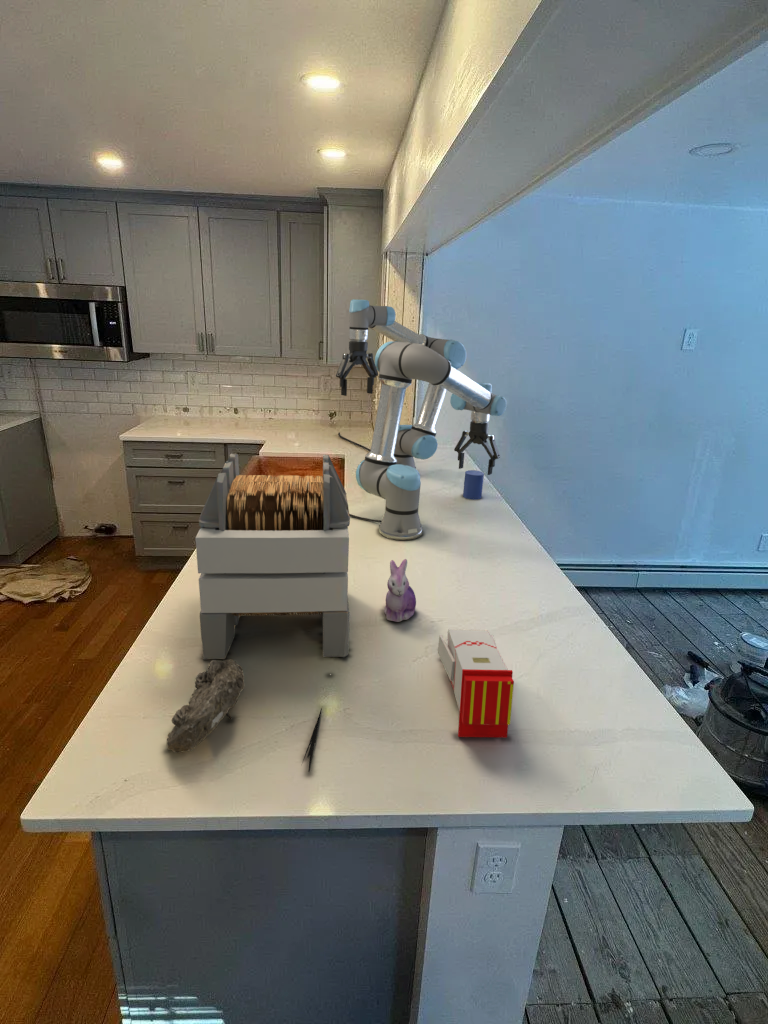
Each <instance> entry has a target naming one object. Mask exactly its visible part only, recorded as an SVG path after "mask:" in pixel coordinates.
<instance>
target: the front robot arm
mask: <svg viewBox="0 0 768 1024" xmlns="http://www.w3.org/2000/svg"><path fill="white" fill-rule="evenodd" d="M374 363H375V366H376V369H377V372H378V380H379V382H380V383H381V387H380V394H379V398H378V403H377V404H378V405H377V411H376V415H375V421H374V427H373V432H372V433H373V434H372V440H371V445H370V450H371V451H368V453H366V454H365V456H364V459H363V460H362V461H361V462H360V463H359V464H358V465H357V467H356V469H355V481H356V483H357V485H358V486H359V488H360V489H362V490H364V491H365V492H366V493H368V494H372V495H375V496H377V497H379V498H381V499H384V500H385V504H384V505H385V507H384V508H385V509H384V513H383V515H382V519H381V520H380V519H373V518H366V517H362V516H358V515H355V514H353V513H349V516H350V517H352V518H354V519H360V520H361V521H362V520H363V521H368V522H375V523H379V525H378V533H379V534H380V535H381V536H382V537H385V538H387V539H389V540H395V541H410V540H415V539H418V538H420V537H421V536H422V535H423V525H422V524H421V518H420V515H419V507H420V506H419V505H420V496H421V495H420V494H421V482H422V481H421V473H420V471H419V470H417V468H416V469H415V468H413V467H410V466H407V465H406V466H404V465H401V464H397V460H396V458H395V457H394V452H395V446H396V441H397V435H398V430H399V425H401V424H400V423H401V419H402V412H403V407H404V402H405V397H406V390H407V388H409V387H410V386H412V383H413V380H415V381H416V380H417V381H420V382H426V383H428V384H429V383H430V384H432V385H434V386H438V385H440V386H441V387H443V388H445V389H446V390H447V391H448V392H450V393H451V395H450V398H449V401H450V405H451V408H452V409H454V410H455V411H464V410H465V411H466V410H467V411H470V422H469V431H468V430H467V429H466V430H463V431H462V433H461V436H460V438H459V440H458V442H457V444H456V445H455V447H454V449H453V451H454V452H456V453H457V461H458V469H459V470H461V469H463V468H464V465H465V464H464V463H465V452H464V451H466V449H467V448H468V447H469V446H470V445H471V444H475V445H481V447H483V448H484V450H485V452H486V453H487V455H488V457H489V459H488V466H487V476H491V475H492V474H493V468H494V467H495V466H496V460H498V459H500V458H501V454H500V451H499V449H498V445H497V443H496V435H495V434H488V432H489V426H490V423H489V421H490V416H492V417H494V416H495V417H500V416H502V415H504V413H505V412H506V410H507V406H508V404H507V403H508V402H507V399H506V398H505V397H504V396H502V395H500V394H494V393H493V385H492V383H489V382H476V381H474V380H472V379H471V378H470V377H468V376H467V375H465V374H464V373H463V372H461V371H460V370H459V369H457V370H456V369H455V368H453V367H452V366H451V363H450V362H449V361H448V360H447V359H446V358H444V357H443V356H441V355H440V354H438V353H437V352H435V351H434V350H432V349H430V348H428V347H426V346H424V345H422V344H417V343H407V342H400V341H393V340H390V341H386V342H384V343H383V344H382V345H381V346H380V347H379V348H378V349H377V350H376V354H375V356H374ZM467 437H469V439H468V440H467V441H466V442H465V440H466V439H467ZM464 442H465V443H464ZM489 444H490V445H489Z"/></svg>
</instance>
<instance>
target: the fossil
mask: <svg viewBox="0 0 768 1024" xmlns="http://www.w3.org/2000/svg"><path fill="white" fill-rule="evenodd" d="M243 670H244V669H243V667H242V665H240V664H237V662H236V661H235V660H234V659H232V658H231V659H227V658H226V659H223V661H222V660H218V659H211V661H210V663H209V665H208V666H207V671H201V672H199V673H198V674H197V675H196V676H195V680H194V684H195V685H194V687H195V689H194V690H193V693H192V694H191V697H190V698H189V700H188V704H184V705H182V706H181V707H180V709H177V710H176V711H175V713H174V715H173V716H172V718H171V723H172V724H173V727H172V730H171V731H170V732H168V734H167V738H166V741H167V742H166V745H167V749H168V750H169V751H173V752H174V753H176V754H178V753H182V752H188V751H189V752H192V751H193V750H195V748H196V747H197V746H199V744H200V743H201V742H203V741H204V740H205V739H206V738H207V737H208V736H209V735H210V734H211V733H212V732H214V730H215V729H217V727H218V726H219V724H220V722H221V721H222V720H223V719H224V718H225V716H226V717H227V719H229V720H233V717H232V715H230V714H229V710H230V709H231V708H234V706H235V704H236V703H237V702H238V699H239V697H240V695H241V693H242V691H243V690H245V689H244V688H245V675H244V671H243Z"/></svg>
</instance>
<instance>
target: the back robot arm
mask: <svg viewBox="0 0 768 1024" xmlns="http://www.w3.org/2000/svg"><path fill="white" fill-rule="evenodd" d="M348 312H349V321H348V322H349V325H348V327H349V329H348V339H349V341H348V350H349V353H347V352H343V353H342V358H341V361H340V363H339V366H338V368H337V371H336V374H335V377H336V378H338V379H339V387H340V390H341V391H340V395H341V396H344V397H347V395H348V393H347V392H348V379H347V376H348V375H349V373H350V372H351V371H352V369H353V367H355V366H358V365H360V366H362V368H363V369H364V371H365V372H366V373H367V379H366V380H367V381H366V393H367V394H370V395H373V389H374V388H373V387H374V384H375V378H377V376H378V377H379V371H378V370H377V367H376V366H375V359H374V353H373V352H367V351H368V350H369V349H368V346H369V342H368V340H369V329H371V330H373V331H374V332H376V333H378V334H380V335H382V336H384V337H386V338H387V339H389V340H390V341H400V342H407V343H417V344H422V345H424V346H426V347H428V348H430V349H432V350H434V351H435V352H437V353H438V354H440V355H441V356H443V357H444V358H446V359H447V360H448V361H449V362H450V363H451V366H452V367H453V368H455V369H456V370H459V369H461V367H463V366H464V365H465V363H466V360H467V350H466V348H465V345H463V343H462V342H460V341H459V340H455V339H446V338H437V337H436V338H435V337H431V336H427V335H425V334H424V333H420V334H419V333H417V332H415V331H414V330H412V329H410V328H408V327H406V326H405V325H403V324H401V323H399V322H397V321H396V316H397V315H396V310H395V309H394V307H392V306H388V305H371V304H370V301H369V300H368V299H356V298H355V299H350V301H349V311H348ZM447 391H448V390H446V389H445V388H443V387H441V386H440V385H438V386H434V385H432V384H430V383H429V382H428V386H427V389H426V391H425V394H424V398H423V401H422V404H421V408H420V411H419V414H418V417H417V420H416V423H414V424H399V430H398V435H397V441H396V446H395V452H394V457H395V458H396V460H397V464H401V465H404V466H406V465H407V466H410V467H413V468H415V469H416V470H417V466H416V463H415V459H418V460H423V461H424V460H428V459H430V458H431V457H433V456H434V455H435V453H436V452H437V449H438V444H439V443H438V440H437V438H436V436H437V431H436V425H437V422H438V418H439V416H440V412H441V409H442V407H443V403H444V401H445V397H446V394H447ZM337 435H338V437H339V438H341V439H342V440H344V441H347V442H349V443H351V444H354V445H356V446H358V447H360V448H363V449H364V450H367V451H368V452H370V451H371V448H368V447H366V446H364V445H362V444H359V443H358V442H355V441H353V440H351V439H349V438H347V437H344V436H342V435H341V432H340V431H339V432H338V433H337Z"/></svg>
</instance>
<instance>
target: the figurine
mask: <svg viewBox="0 0 768 1024" xmlns="http://www.w3.org/2000/svg"><path fill="white" fill-rule="evenodd" d="M407 567H408V559H406V558H404V559H403V560H402V561H401V563H400V565H399V566H398V565H397V563H396V562H395V561H394V560H393V559H391V560H390V561H389V570H390V576H389V578H388V579H387V589H388V591H387V592H386V594H385V595H386V596H385V607H384V615H385V616H386V620H387V621H391V622H395V623H400V622H402V621H406V620H409V619H410V618H411V617H413V616H414V615H415V610H416V606H417V597H416V593H415V591H414V590H413V587H411V586H410V582H409V579H408V577H407V574H406V571H407Z"/></svg>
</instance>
